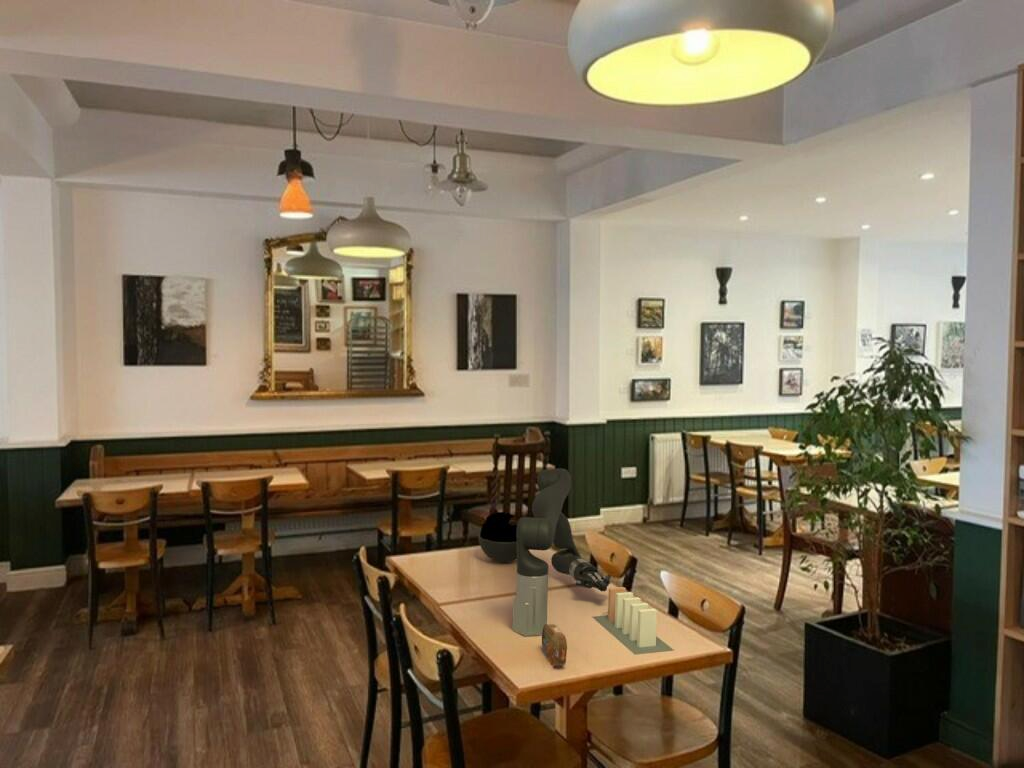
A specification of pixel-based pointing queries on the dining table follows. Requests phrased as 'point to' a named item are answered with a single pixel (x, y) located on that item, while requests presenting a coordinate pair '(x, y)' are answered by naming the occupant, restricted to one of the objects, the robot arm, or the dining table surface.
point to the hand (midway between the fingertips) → (604, 588)
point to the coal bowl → (499, 538)
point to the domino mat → (626, 641)
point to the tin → (554, 645)
